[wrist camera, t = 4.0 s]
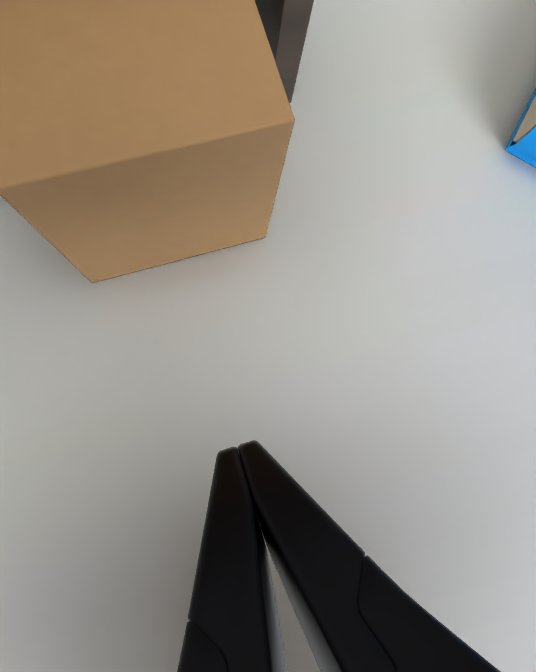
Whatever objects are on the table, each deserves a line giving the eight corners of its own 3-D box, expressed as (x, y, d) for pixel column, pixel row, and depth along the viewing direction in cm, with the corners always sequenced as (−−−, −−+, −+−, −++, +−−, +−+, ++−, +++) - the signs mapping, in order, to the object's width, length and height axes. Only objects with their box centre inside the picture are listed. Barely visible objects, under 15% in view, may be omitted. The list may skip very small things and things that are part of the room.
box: (266, 237, 22) (295, 120, 13) (89, 284, 21) (-12, 191, 12) (205, 46, 23) (194, -183, 14) (35, 81, 22) (-94, -144, 13)
